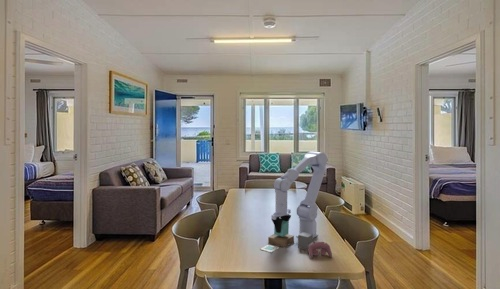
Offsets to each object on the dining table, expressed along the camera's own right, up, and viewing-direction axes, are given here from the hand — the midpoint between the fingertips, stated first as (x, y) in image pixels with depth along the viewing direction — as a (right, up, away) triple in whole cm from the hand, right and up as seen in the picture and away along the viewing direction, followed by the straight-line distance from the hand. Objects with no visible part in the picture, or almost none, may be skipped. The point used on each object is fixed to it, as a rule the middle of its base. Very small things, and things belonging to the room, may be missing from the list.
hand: (281, 230), depth 150 cm
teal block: (0, -2, 0) cm, 2 cm away
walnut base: (0, -6, 0) cm, 6 cm away
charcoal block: (+11, -6, -5) cm, 13 cm away
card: (-6, -6, -8) cm, 12 cm away
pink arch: (+15, -7, -15) cm, 23 cm away
